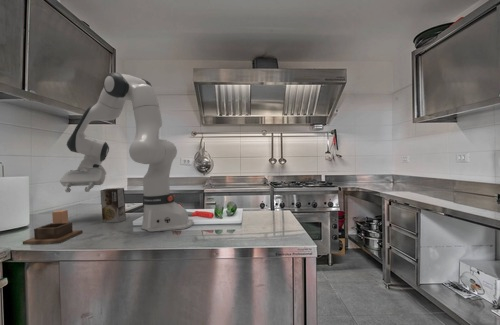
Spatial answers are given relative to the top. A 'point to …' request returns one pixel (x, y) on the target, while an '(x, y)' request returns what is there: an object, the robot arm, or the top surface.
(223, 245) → the top surface
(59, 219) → the block
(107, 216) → the coffee box
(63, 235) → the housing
